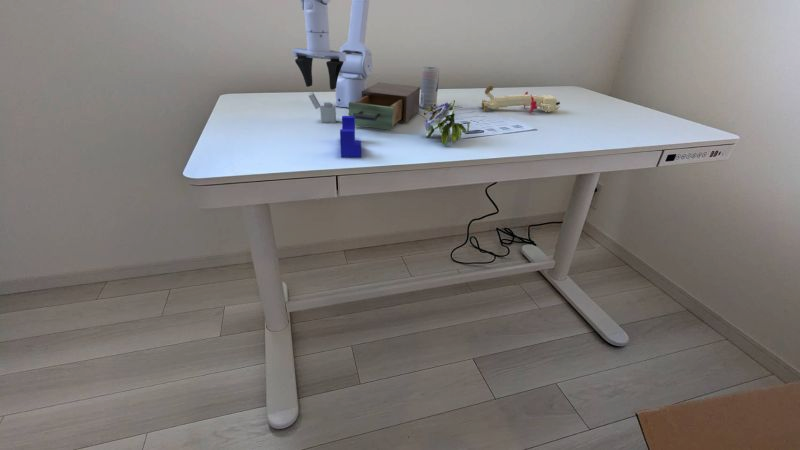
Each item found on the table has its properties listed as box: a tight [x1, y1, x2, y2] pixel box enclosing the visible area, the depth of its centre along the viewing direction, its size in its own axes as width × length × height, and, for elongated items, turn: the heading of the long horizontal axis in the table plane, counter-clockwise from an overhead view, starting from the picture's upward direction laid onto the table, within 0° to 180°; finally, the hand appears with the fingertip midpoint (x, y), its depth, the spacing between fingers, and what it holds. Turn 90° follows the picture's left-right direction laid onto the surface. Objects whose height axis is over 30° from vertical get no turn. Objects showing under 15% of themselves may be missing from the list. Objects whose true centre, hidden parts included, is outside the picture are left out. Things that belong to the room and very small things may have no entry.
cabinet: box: [362, 82, 421, 124], centre depth 117 cm, size 14×14×8 cm
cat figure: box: [481, 84, 561, 114], centre depth 127 cm, size 10×9×25 cm
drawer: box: [348, 95, 404, 131], centre depth 107 cm, size 17×12×6 cm
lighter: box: [307, 91, 337, 124], centre depth 109 cm, size 7×2×8 cm, turn 98°
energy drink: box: [419, 66, 440, 110], centre depth 126 cm, size 5×5×12 cm
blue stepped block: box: [339, 115, 362, 158], centre depth 92 cm, size 12×4×6 cm, turn 5°
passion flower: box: [423, 99, 471, 147], centre depth 100 cm, size 11×11×12 cm
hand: (321, 87), depth 106 cm, fingers open, 7 cm apart
